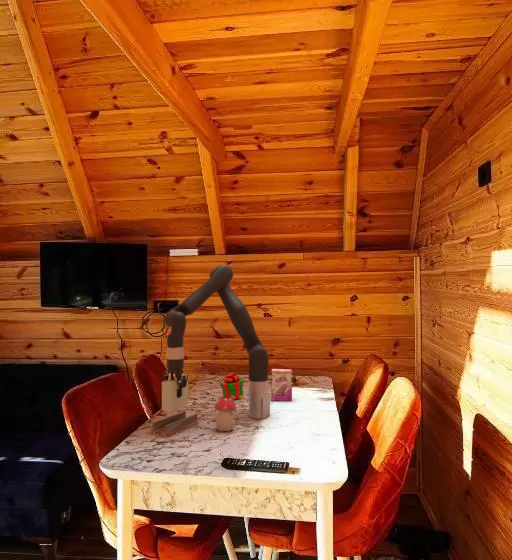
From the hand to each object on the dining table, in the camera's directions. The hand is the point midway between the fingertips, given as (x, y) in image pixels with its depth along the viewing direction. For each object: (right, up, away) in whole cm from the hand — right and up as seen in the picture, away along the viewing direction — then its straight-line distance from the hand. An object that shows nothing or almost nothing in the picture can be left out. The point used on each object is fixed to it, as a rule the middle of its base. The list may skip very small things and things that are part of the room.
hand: (175, 396), depth 181 cm
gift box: (+23, -15, +46) cm, 53 cm away
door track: (0, -14, 0) cm, 14 cm away
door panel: (0, -5, 0) cm, 5 cm away
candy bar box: (+49, -14, +43) cm, 67 cm away
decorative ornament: (+22, -14, -2) cm, 26 cm away
